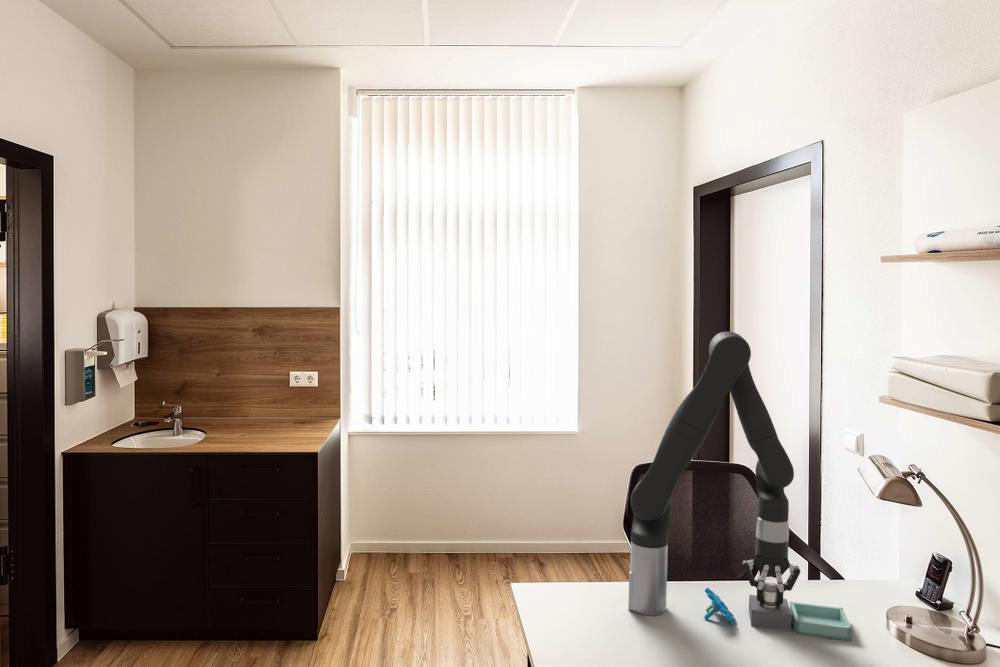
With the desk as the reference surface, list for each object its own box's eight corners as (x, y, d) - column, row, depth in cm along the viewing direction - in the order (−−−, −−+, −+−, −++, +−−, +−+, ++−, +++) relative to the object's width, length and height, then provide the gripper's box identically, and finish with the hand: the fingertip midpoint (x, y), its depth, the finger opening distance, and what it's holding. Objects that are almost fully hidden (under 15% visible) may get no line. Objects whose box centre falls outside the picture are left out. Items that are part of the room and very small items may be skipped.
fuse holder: (751, 625, 174) (751, 609, 173) (748, 609, 182) (749, 594, 182) (790, 630, 171) (791, 614, 171) (786, 614, 180) (786, 599, 180)
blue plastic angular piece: (740, 625, 170) (710, 592, 172) (721, 641, 171) (691, 607, 173) (735, 611, 181) (707, 580, 183) (718, 626, 182) (690, 595, 184)
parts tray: (795, 633, 170) (795, 621, 170) (789, 613, 181) (790, 601, 180) (851, 641, 167) (851, 628, 166) (842, 619, 177) (842, 608, 177)
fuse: (762, 622, 176) (763, 586, 175) (761, 616, 179) (762, 581, 178) (777, 624, 175) (778, 588, 174) (775, 617, 178) (776, 582, 177)
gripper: (742, 537, 174) (740, 606, 175) (805, 544, 170) (802, 614, 171) (741, 528, 181) (738, 594, 182) (800, 533, 177) (798, 601, 178)
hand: (769, 603), depth 176 cm, fingers closed on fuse, 3 cm apart
